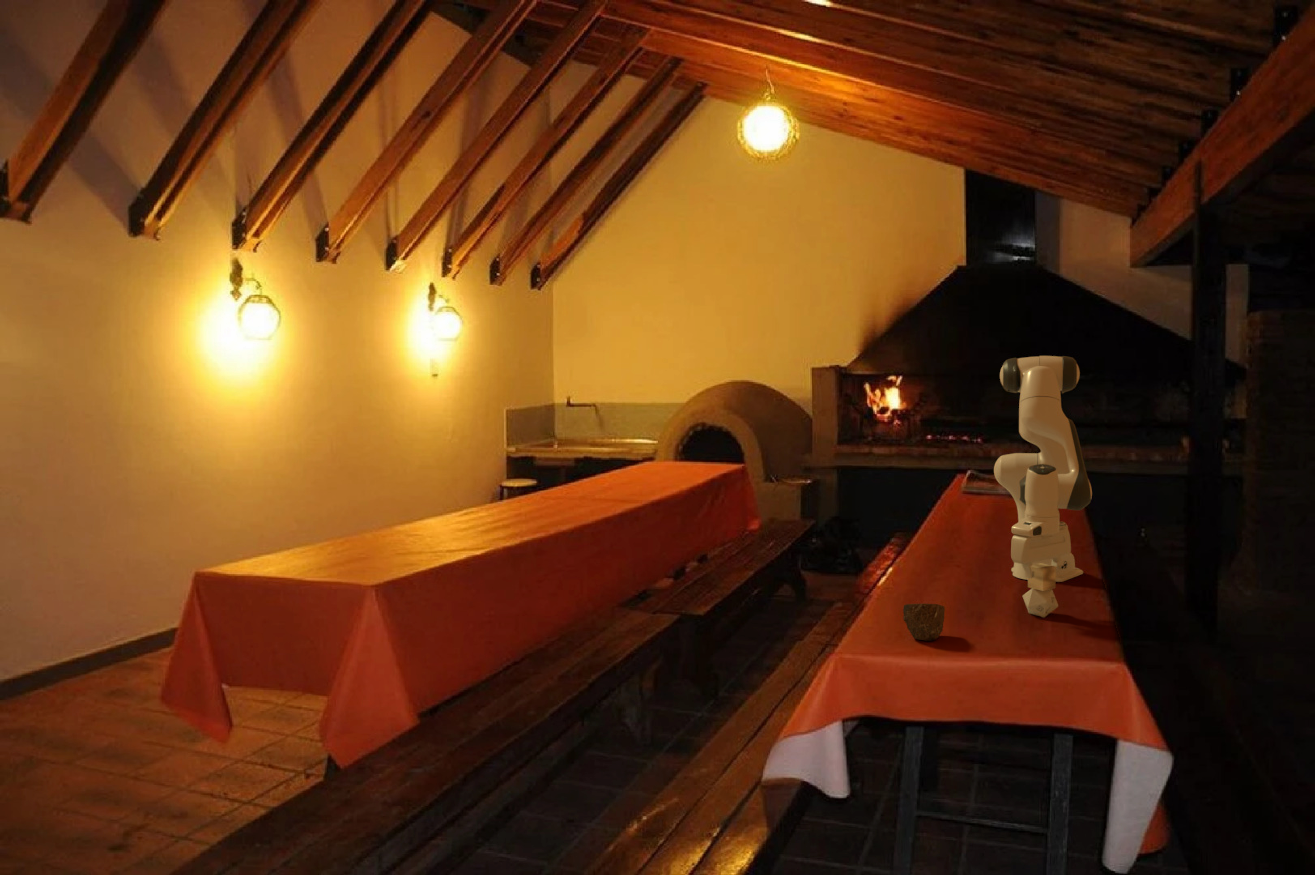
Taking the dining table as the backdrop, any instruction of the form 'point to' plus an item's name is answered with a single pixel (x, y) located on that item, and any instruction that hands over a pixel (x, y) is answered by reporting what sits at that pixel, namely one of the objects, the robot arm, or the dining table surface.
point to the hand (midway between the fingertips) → (1041, 575)
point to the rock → (924, 620)
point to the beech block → (1042, 577)
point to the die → (1040, 602)
